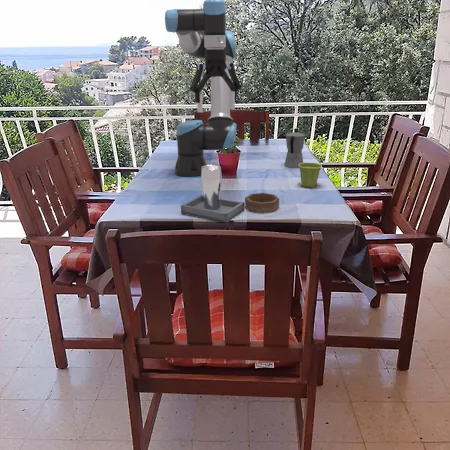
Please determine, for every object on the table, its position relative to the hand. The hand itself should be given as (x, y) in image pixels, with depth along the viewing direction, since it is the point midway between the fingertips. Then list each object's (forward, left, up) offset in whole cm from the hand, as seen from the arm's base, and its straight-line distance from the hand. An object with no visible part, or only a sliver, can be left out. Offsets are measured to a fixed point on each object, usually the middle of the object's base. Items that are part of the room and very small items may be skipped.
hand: (216, 110), depth 160 cm
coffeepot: (+12, +52, -32) cm, 62 cm away
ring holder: (+23, -8, -32) cm, 40 cm away
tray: (+10, -20, -32) cm, 39 cm away
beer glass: (+10, -20, -31) cm, 38 cm away
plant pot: (+29, +25, -32) cm, 50 cm away
